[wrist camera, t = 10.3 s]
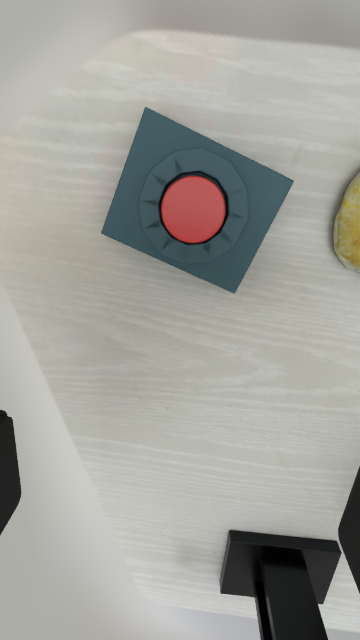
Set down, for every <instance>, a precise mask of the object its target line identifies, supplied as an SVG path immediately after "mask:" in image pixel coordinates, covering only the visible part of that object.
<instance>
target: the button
mask: <svg viewBox="0 0 360 640" xmlns="http://www.w3.org/2000/svg"><path fill="white" fill-rule="evenodd" d="M161 214H162V219H163V222H164V224H165V226H166V228H167V230H168V231H169V232H170V233H171V234H172V235H173V236H174V237H176V238H177V239H179V240H181V241H183V242H187V243H198V242H202V241H205V240H207V239H209V238H211V237H212V236H213V235H214V234H215V233H216V232H217V231H218V230H219V229H220V227H221V225H222V223H223V221H224V217H225V201H224V197H223V195H222V193H221V191H220V190H219V188H218V187H217V186H216V185H215V184H214V183H213V182H212V181H210V180H208V179H206V178H204V177H200V176H187V177H184V178H181V179H179V180H177V181H176V182H174V183H173V184H172V185H171V186H170V187H169V188H168V190H167V191H166V193H165V195H164V198H163V201H162V206H161Z"/></svg>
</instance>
